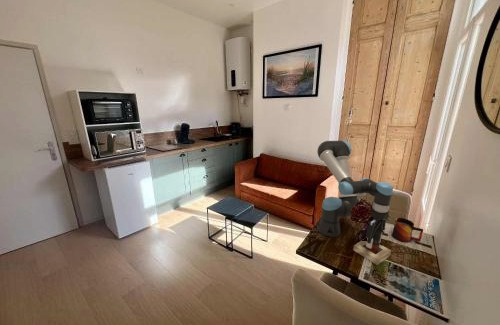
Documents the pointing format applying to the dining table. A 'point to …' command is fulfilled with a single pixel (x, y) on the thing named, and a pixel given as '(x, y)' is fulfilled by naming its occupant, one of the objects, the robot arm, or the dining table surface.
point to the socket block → (374, 258)
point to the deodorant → (375, 241)
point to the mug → (405, 230)
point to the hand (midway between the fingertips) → (373, 244)
